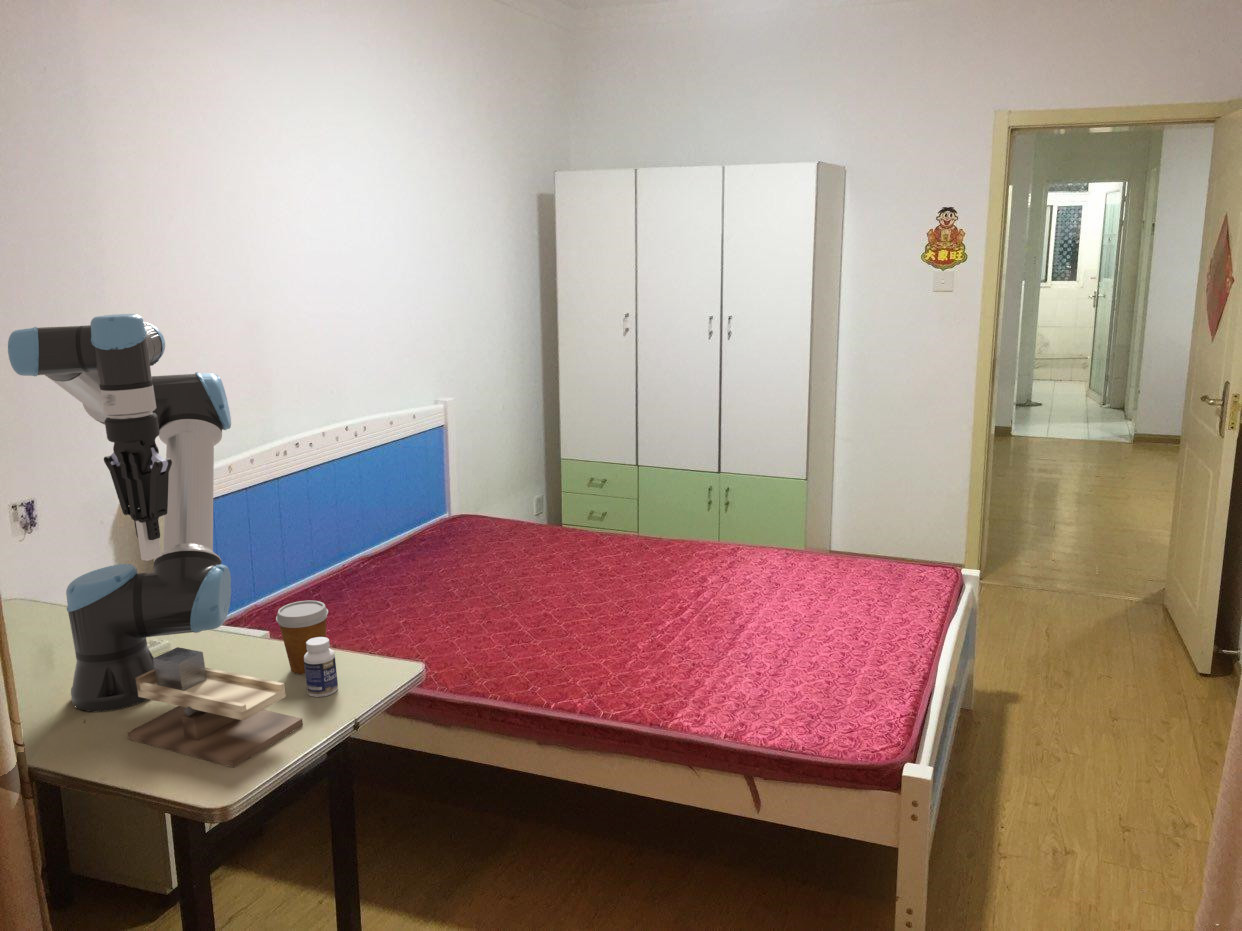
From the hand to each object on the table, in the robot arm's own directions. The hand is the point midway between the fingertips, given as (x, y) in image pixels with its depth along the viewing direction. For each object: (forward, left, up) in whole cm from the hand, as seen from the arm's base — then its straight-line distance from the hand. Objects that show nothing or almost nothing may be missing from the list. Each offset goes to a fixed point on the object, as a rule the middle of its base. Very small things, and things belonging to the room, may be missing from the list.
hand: (151, 557), depth 164 cm
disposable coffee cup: (+3, +28, -31) cm, 42 cm away
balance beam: (+7, +2, -24) cm, 25 cm away
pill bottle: (+13, +21, -31) cm, 39 cm away
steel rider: (0, +2, -23) cm, 23 cm away
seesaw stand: (+7, +2, -30) cm, 31 cm away
